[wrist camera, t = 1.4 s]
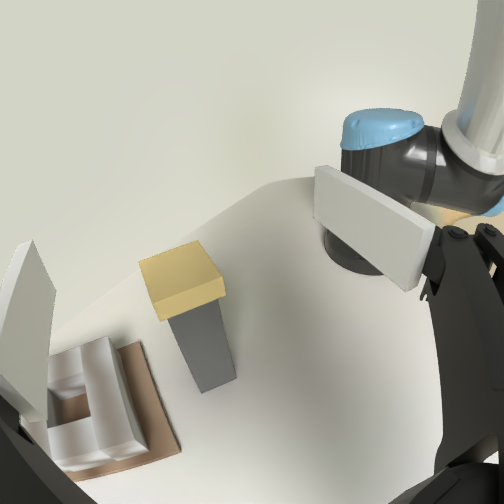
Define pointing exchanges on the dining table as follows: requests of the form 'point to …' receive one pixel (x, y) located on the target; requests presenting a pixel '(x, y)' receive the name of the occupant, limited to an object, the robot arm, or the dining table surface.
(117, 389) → the socket
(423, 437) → the dining table surface
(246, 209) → the dining table surface
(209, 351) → the plug
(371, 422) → the dining table surface
